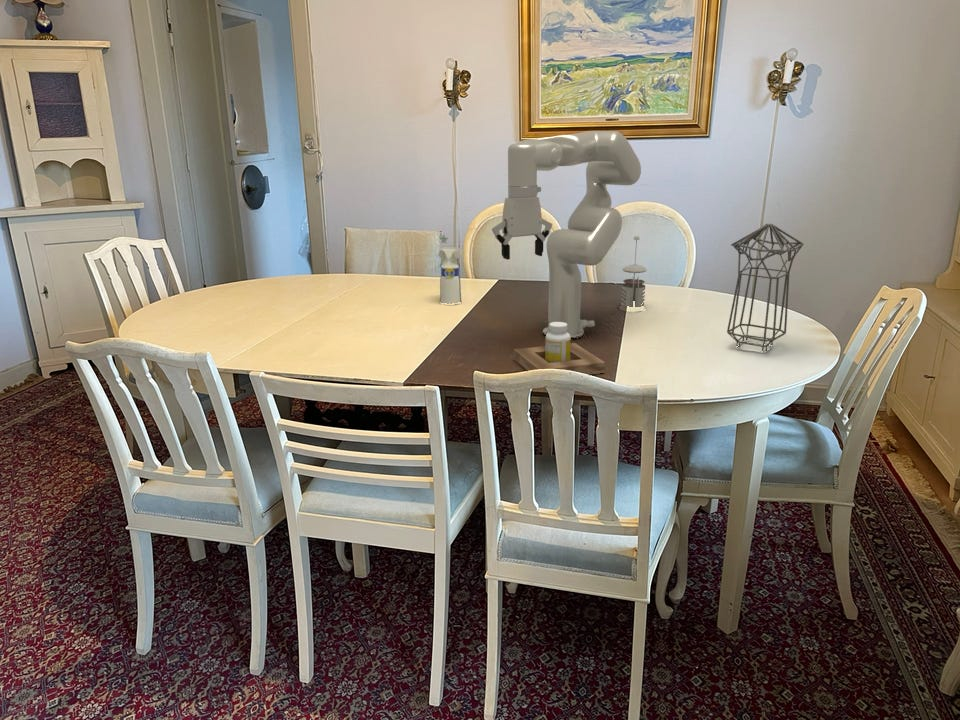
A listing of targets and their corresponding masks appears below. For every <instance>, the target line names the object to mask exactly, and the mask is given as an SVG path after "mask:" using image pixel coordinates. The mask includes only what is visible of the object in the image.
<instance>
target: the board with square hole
mask: <svg viewBox="0 0 960 720" xmlns="http://www.w3.org/2000/svg"><path fill="white" fill-rule="evenodd" d="M514 359H515V360H516V361H517V362H519V363H520V364H521V365H522V366H523V367H524V368H526V370H532V369H543V368H558V369H567V370H573V371H578V372H583V373H587V374H589V373H588V372H595V371H601V370H605V367H606V362H605V361H604V360H602V359H600V358H599V357H598V356H596V355H595V354H593V353H591V352H589V351H588V350H586V349H585V348H583V347H581V346H580V345H579V344H577V343H576V342H570V359H571V361H563V362H554V363H548V362H547V361H545V345H542V346H534V347H533V346H532V347H523V348H517V349H516V348H514V349H513V360H514ZM516 361H515V362H516ZM517 362H516V363H517ZM522 366H521V367H522ZM523 367H522V368H523ZM524 368H523V369H524ZM526 370H525V371H526Z"/></svg>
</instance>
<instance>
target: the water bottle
mask: <svg viewBox="0 0 960 720" xmlns="http://www.w3.org/2000/svg"><path fill="white" fill-rule="evenodd" d="M439 239H440V240H441V241H440V244H443V243H444V244H447V240H448V239H449V238H448V237H446V236H445V234H443V235H442V236H441V237H439ZM463 253H464V252H463V251H462V248H460V247H453V246H450V247H449V246H447V247H442V248H440V249H439V251H438V254H437V255H438V257H439V258H440V259H441V264H440V265H439V267H440V271H441V273H440V274H441V275H440V279H439V281H440V283H439V289H440V291H439V293H440V295H439V303H440V302H441V303H447V304H449V303H450V304H452V303H458V302H461V303H462V292H461V289H462V288H461V287H462V286H461V277H460V266H461V265H460V263H459V259H460V258H461V257H462V256H463Z"/></svg>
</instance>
